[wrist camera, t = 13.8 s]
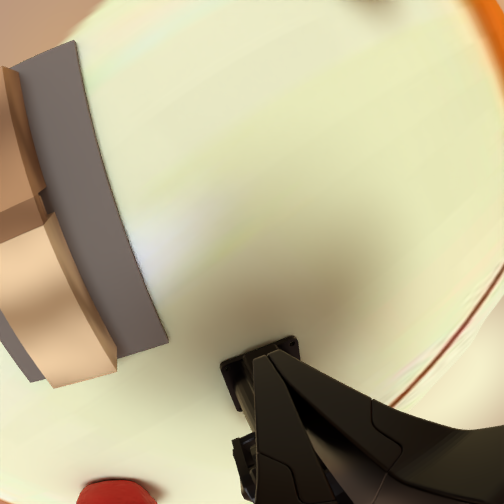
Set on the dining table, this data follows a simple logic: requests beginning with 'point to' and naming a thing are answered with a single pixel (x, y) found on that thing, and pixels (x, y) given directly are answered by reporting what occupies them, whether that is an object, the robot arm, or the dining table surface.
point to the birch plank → (53, 307)
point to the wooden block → (17, 163)
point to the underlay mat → (82, 206)
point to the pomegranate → (115, 493)
